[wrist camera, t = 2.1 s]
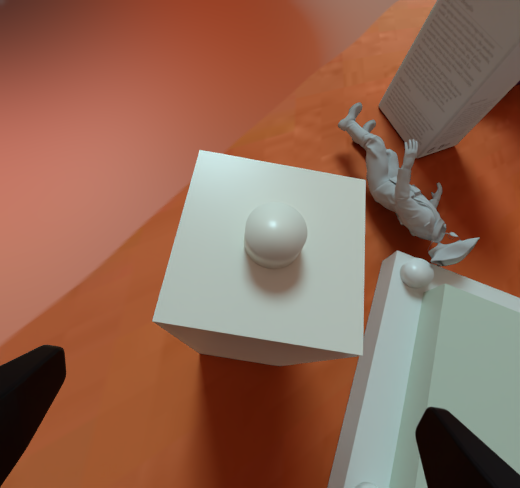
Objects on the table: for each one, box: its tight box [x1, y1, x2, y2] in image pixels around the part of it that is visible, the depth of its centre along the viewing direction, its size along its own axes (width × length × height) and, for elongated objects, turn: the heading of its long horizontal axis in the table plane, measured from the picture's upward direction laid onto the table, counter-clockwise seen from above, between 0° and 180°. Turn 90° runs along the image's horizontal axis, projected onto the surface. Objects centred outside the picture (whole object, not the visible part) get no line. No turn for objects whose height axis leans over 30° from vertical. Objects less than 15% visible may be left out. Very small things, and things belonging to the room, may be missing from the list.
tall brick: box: [152, 150, 366, 366], centre depth 13 cm, size 5×5×13 cm
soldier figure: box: [338, 103, 480, 266], centre depth 21 cm, size 8×5×12 cm
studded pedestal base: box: [327, 250, 520, 488], centre depth 16 cm, size 14×14×4 cm
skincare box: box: [379, 0, 520, 158], centre depth 20 cm, size 6×4×12 cm
